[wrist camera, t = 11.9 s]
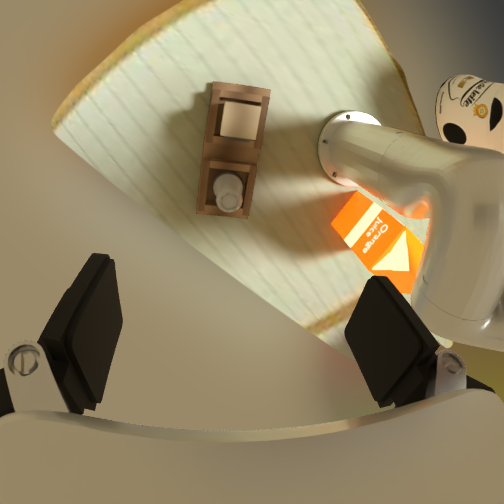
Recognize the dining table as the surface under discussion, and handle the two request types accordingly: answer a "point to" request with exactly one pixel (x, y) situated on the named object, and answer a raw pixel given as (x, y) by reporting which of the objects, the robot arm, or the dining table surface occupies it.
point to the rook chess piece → (228, 191)
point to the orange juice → (380, 241)
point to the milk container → (471, 112)
